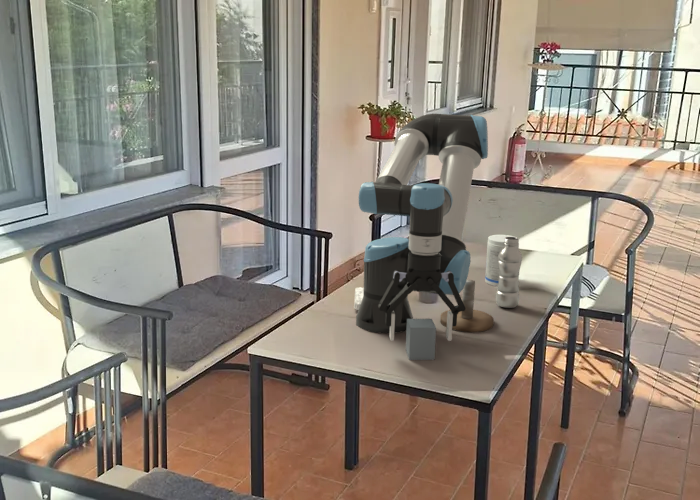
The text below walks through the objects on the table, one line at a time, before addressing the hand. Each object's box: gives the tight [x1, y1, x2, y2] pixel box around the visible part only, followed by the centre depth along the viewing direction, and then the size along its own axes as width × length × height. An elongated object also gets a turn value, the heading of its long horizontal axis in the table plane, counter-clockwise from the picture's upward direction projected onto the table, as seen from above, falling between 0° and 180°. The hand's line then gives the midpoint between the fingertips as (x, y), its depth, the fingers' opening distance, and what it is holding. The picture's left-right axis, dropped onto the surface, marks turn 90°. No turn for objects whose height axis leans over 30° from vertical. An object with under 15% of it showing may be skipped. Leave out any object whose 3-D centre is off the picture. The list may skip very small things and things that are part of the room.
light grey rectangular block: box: [405, 318, 437, 361], centre depth 187 cm, size 6×6×8 cm
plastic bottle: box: [495, 236, 523, 309], centre depth 221 cm, size 6×7×20 cm
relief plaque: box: [353, 286, 364, 311], centre depth 225 cm, size 11×16×3 cm
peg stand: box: [439, 279, 495, 333], centre depth 209 cm, size 14×14×12 cm
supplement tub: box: [484, 234, 520, 288], centre depth 243 cm, size 10×10×15 cm
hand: (420, 338), depth 186 cm, fingers open, 13 cm apart
